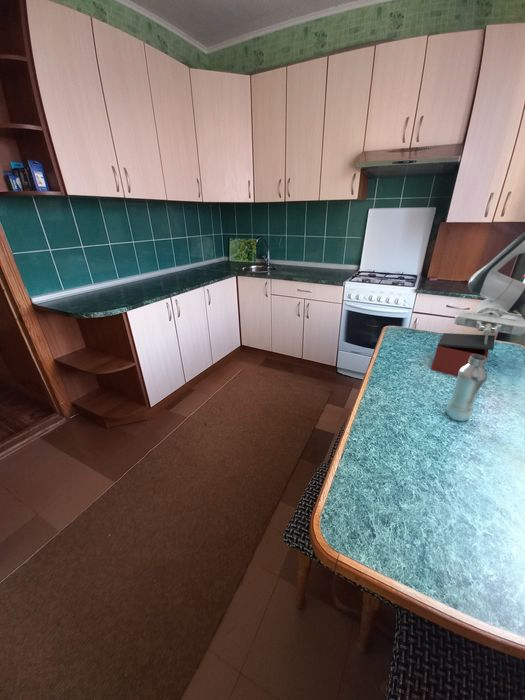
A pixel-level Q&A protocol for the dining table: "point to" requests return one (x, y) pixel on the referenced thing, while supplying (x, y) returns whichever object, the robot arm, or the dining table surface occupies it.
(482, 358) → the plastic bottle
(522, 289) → the robot arm
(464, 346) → the box lid
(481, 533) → the dining table surface
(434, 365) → the red box
